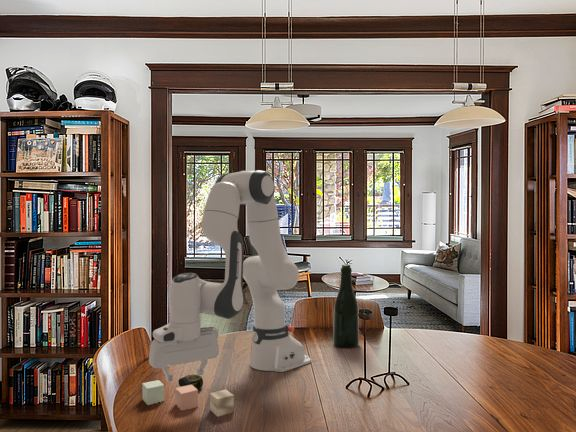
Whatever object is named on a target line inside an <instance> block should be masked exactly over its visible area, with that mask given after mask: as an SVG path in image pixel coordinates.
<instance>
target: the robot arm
mask: <svg viewBox="0 0 576 432" xmlns="http://www.w3.org/2000/svg"><path fill="white" fill-rule="evenodd" d="M275 184H276V183H275V181H274V178H273V177H272V175H271V174H270V173H269V172H268V171H265V170H259V169H257V170H240V171H237V172H231V173H229V172H228V173H227V172H226V173H224V174H222V175H219V176H218V178H217V179H216V180H215V183H214V185H213V186H212V187H211V189H210V191H209V193H208V196H207V199H206V202H205V205H204V208H203V214H202V219H201V231H202V233H203V235H204V237H206V239H208V240H209V241H210V242H211V243H213V244H215V245H217V246H219V248H221V249H222V251H224V254H225V255H224V256H225V268H224V269H225V270H224V281H223V283H221V282H220V283H219V282H211V281H206V280H204V279H201V278H200V277H199V275H198V274H197V273H195V272H184V273H179V274H177V275H175V276H174V277H173V278H172V280H171V282H170V289H169V309H170V316H169V323H167V324H165V325H163V326H161V327H159V328H156V329H154V330H153V331H152V337H153V338H154V339H153V340H152V341H151V343H150V347H149V355H148V362H149V364H150V366H151V367H152V368H154V369H159V368H161V370H162V371H163V372H164V374H165V381H166V382H171V381H173V376H174V375H173V374H172V373H171V372H169V371H168V370H170V367H171V366H176V365H177V366H178V365H181V364H187V363H194V362H198V361H199V362H200V365H199V367H197V368H196V375H200V376H203V375H204V374H205V371H204V369H205V368H206V366H207V364H208V360H211V359H217V358H218V356H219V354H220V348H219V340H218V338H219V330H218V329H217V327H215V326H208V327H207V326H205V327H201V315H200V314H204V315H211V316H216V317H220V318H223V319H227V320H229V319H232V318H234V317H236V316H237V315H238V314H239V313H240V312H241V311H242V309H243V308H244V304H245V303H244V302H245V297H244V295H245V294H244V286H243V285H244V284H243V280H244V281H245V282H246V284H247V286H248V289H249V292H250V295H251V300H252V303H253V304H252V305H253V326H252V341H253V344H252V353H251V358H250V361H249V366H250V367H251V368H253V369H254V370H258V371H264V372H265V371H266V372H267V371H268V372H279V373H284V372H288V371H291V370H293V369H296V368H299V367H301V366H304V365H307V364H310V363H312V362H311V360H312V359H311V358H310V357H309V356H308V355H307V354H305V349H304V346H303V344H302V343H301V342H300V341H299V340H297V339H296V338H294V337H293V336H292V335H290V333H293V332H294V331H295V327H294V326H292V325H287V324H285V323H286V322H285V316H286V315H285V313H286V312H285V310H286V309H285V303H284V301H283V300H282V299H281V297H280V296H279V293H278V291H285V290H290V289H293V288H294V287H295V286H296V285H297V284H298V281H299V276H300V272H299V268H298V266H297V265H296V264H295V263H294V262H293V261H292V259H291V258H290V256H289V255H288V253H287V251H286V248H285V245H284V243H283V239H282V235H281V227H280V219H279V213H278V211H279V210H278V208H277V207H278V206H277V202H276V199H275V196H274V194H275V189H276V187H275ZM241 205H245V206H246V219H247V220H246V221H247V222H246V223H247V229H248V236H249V237H248V238H249V242H250V244H251V246H252V247H253V248H254V249H255V251H256V253H257V255H252V256H249V257H247V258H244V254H245V253H244V250H245V249H244V238H243V235H242V234H241V233H240V232H239V228H238V222H239V221H238V220H239V214H240V206H241ZM289 332H290V333H289Z"/></svg>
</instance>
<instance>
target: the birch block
mask: <svg viewBox="0 0 576 432" xmlns="http://www.w3.org/2000/svg"><path fill="white" fill-rule="evenodd" d="M234 396H235V395H234V394H232V393H231V392H230V391H229V390H227V389H221V390H217V391H213V392H210V393H209V410H210V411H211V413H213V414H214V415H215V416H216V417H222V416H226V415H229V414H233V413H235V412H234V411H235V408H234V407H235V406H234V405H235V403H234V402H235V400H234V399H235V397H234Z"/></svg>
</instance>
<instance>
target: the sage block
mask: <svg viewBox="0 0 576 432" xmlns="http://www.w3.org/2000/svg"><path fill="white" fill-rule="evenodd" d="M141 385H142V387H141V388H142V389H141V390H142V394H141V395H142V400H143V402H144V403H145V404H146V405H147V406H150V405H151V406H152V405H154V403H155V404H159V403H158V402H160V403H163V402H162V401H164V402H165V384H164V383H162V382H161V381H160V380H159V379H157V380H152V381H147V382H142V383H141Z"/></svg>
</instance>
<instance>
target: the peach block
mask: <svg viewBox="0 0 576 432" xmlns="http://www.w3.org/2000/svg"><path fill="white" fill-rule="evenodd" d="M174 400H175V406H176V405H177V406H176V407H177V408H178V409H179V410H180V411H182V410H183V411H186V409H187V410H190V409H194V408H198V407H199V389H198V390H197V389H196V388H195V387H194V386H193V385H187V386H182V387H180V386H179V387H175V399H174ZM183 411H182V412H183Z"/></svg>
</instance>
